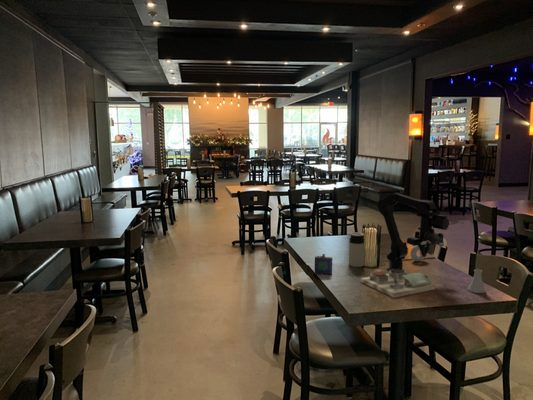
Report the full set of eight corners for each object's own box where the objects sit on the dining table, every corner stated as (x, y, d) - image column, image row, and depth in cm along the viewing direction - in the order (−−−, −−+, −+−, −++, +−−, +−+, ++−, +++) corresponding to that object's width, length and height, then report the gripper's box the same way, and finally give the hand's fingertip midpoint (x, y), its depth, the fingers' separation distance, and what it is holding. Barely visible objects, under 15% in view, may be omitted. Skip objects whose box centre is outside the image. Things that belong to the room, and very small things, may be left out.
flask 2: (475, 294, 190) (477, 273, 188) (464, 289, 197) (465, 268, 195) (489, 293, 192) (490, 272, 190) (477, 287, 198) (478, 267, 197)
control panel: (360, 282, 206) (361, 272, 205) (399, 275, 217) (400, 265, 216) (393, 297, 186) (394, 286, 185) (435, 289, 196) (435, 278, 196)
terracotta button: (372, 275, 205) (372, 270, 204) (379, 273, 206) (379, 269, 206) (378, 277, 201) (378, 272, 200) (385, 276, 202) (385, 271, 202)
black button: (391, 274, 210) (391, 269, 210) (398, 273, 212) (398, 268, 211) (397, 277, 206) (397, 272, 206) (404, 275, 208) (404, 271, 207)
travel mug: (352, 267, 230) (353, 235, 227) (346, 263, 237) (347, 232, 235) (365, 266, 231) (366, 234, 229) (359, 262, 239) (360, 231, 236)
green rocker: (401, 277, 199) (402, 274, 198) (418, 274, 204) (419, 271, 203) (413, 287, 193) (413, 284, 192) (430, 283, 197) (431, 281, 197)
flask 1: (332, 273, 219) (332, 253, 218) (331, 275, 217) (332, 255, 215) (314, 272, 221) (314, 252, 220) (314, 274, 219) (314, 254, 217)
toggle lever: (393, 284, 193) (389, 269, 195) (396, 283, 194) (392, 268, 196) (396, 283, 192) (392, 268, 194) (399, 283, 193) (395, 268, 194)
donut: (412, 263, 239) (413, 245, 237) (408, 261, 242) (409, 244, 241) (426, 261, 242) (427, 244, 241) (422, 259, 245) (423, 243, 244)
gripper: (423, 231, 197) (421, 263, 199) (453, 228, 204) (450, 259, 207) (407, 226, 207) (405, 257, 209) (435, 223, 214) (433, 253, 217)
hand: (424, 256), depth 210 cm, fingers closed
